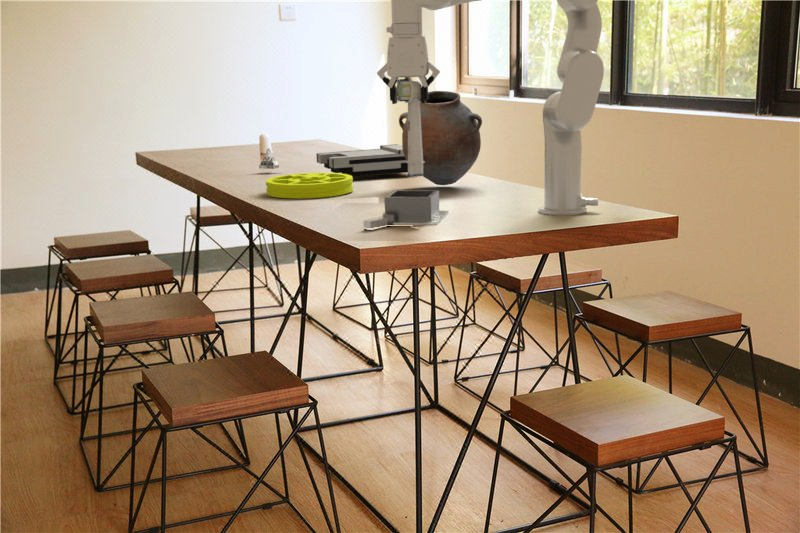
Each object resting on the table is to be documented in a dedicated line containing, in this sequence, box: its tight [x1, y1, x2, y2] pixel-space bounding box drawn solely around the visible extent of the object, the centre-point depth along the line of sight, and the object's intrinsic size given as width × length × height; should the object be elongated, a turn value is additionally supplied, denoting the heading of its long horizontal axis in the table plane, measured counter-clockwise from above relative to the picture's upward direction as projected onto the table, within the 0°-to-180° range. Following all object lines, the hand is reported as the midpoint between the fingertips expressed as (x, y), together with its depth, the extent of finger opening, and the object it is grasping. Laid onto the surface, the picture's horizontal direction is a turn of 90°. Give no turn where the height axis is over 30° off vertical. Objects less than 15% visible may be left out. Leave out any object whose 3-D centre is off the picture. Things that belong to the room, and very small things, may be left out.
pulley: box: [265, 172, 354, 199], centre depth 305 cm, size 28×28×5 cm
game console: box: [315, 144, 408, 178], centre depth 347 cm, size 21×32×8 cm, turn 112°
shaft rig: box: [363, 189, 449, 228], centre depth 247 cm, size 18×30×7 cm, turn 168°
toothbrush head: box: [396, 77, 425, 178], centre depth 242 cm, size 5×7×25 cm
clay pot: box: [398, 90, 483, 186], centre depth 304 cm, size 26×25×30 cm
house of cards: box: [258, 148, 285, 170], centre depth 369 cm, size 9×9×8 cm
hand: (409, 102), depth 241 cm, fingers closed on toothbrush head, 6 cm apart
